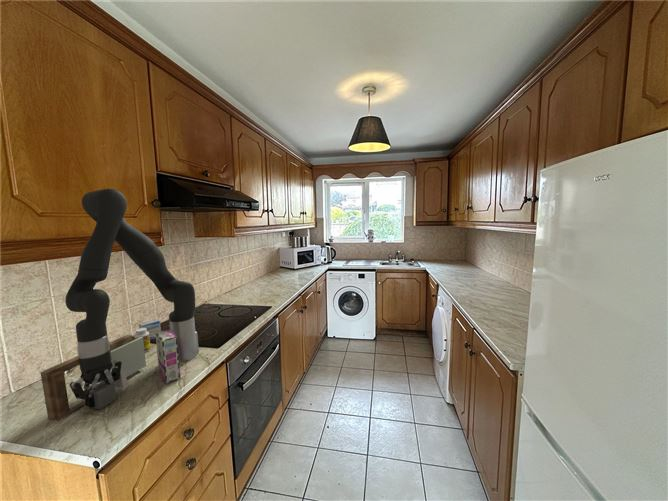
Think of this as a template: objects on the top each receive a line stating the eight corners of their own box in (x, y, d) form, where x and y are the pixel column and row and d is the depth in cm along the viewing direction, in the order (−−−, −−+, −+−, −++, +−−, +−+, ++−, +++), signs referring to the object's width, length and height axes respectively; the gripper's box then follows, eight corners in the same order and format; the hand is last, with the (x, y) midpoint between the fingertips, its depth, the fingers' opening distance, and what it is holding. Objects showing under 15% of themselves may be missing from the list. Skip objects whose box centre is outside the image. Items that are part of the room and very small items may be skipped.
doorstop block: (102, 396, 90) (100, 382, 90) (116, 398, 89) (114, 384, 88) (85, 406, 85) (83, 391, 85) (99, 409, 84) (97, 394, 83)
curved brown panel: (131, 370, 106) (127, 334, 105) (140, 372, 105) (136, 335, 103) (48, 418, 82) (40, 372, 80) (58, 421, 80) (51, 374, 79)
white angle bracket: (143, 365, 108) (140, 337, 107) (160, 368, 106) (157, 339, 105) (100, 390, 93) (96, 357, 92) (119, 393, 91) (114, 360, 89)
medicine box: (143, 342, 131) (141, 325, 130) (140, 340, 133) (138, 323, 132) (161, 337, 137) (160, 320, 136) (158, 334, 140) (156, 318, 138)
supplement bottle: (142, 354, 119) (139, 332, 118) (132, 353, 121) (130, 331, 119) (153, 348, 124) (151, 327, 123) (144, 347, 126) (142, 326, 125)
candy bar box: (181, 378, 101) (177, 336, 99) (166, 384, 97) (161, 341, 95) (173, 367, 109) (169, 328, 107) (158, 372, 105) (154, 332, 103)
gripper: (109, 340, 93) (115, 386, 95) (58, 361, 79) (65, 415, 81) (126, 342, 91) (131, 389, 93) (76, 364, 77) (84, 419, 79)
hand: (101, 401), depth 87 cm, fingers closed on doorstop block, 5 cm apart
